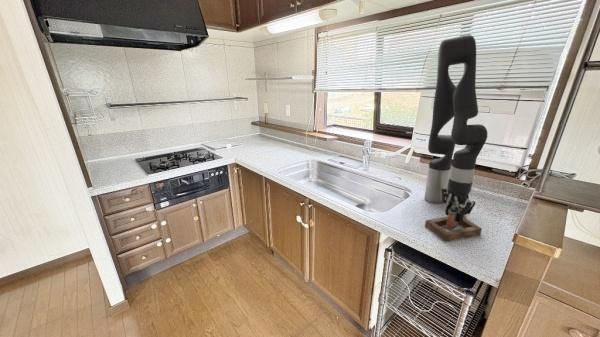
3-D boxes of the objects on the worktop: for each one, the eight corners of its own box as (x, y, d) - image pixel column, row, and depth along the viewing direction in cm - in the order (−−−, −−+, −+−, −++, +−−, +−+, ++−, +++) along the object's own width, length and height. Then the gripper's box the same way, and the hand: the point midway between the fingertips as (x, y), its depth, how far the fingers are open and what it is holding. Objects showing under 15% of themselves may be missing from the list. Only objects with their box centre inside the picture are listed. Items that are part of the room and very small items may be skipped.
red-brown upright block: (452, 231, 94) (457, 208, 91) (443, 227, 96) (447, 205, 93) (460, 223, 99) (464, 201, 95) (450, 220, 101) (454, 198, 98)
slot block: (457, 220, 105) (458, 214, 104) (480, 235, 95) (481, 228, 94) (424, 226, 102) (425, 220, 101) (445, 242, 92) (446, 235, 91)
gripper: (438, 173, 97) (432, 210, 102) (468, 186, 83) (459, 229, 89) (454, 170, 98) (447, 208, 104) (486, 184, 85) (477, 226, 90)
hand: (453, 217), depth 96 cm, fingers closed on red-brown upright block, 4 cm apart
